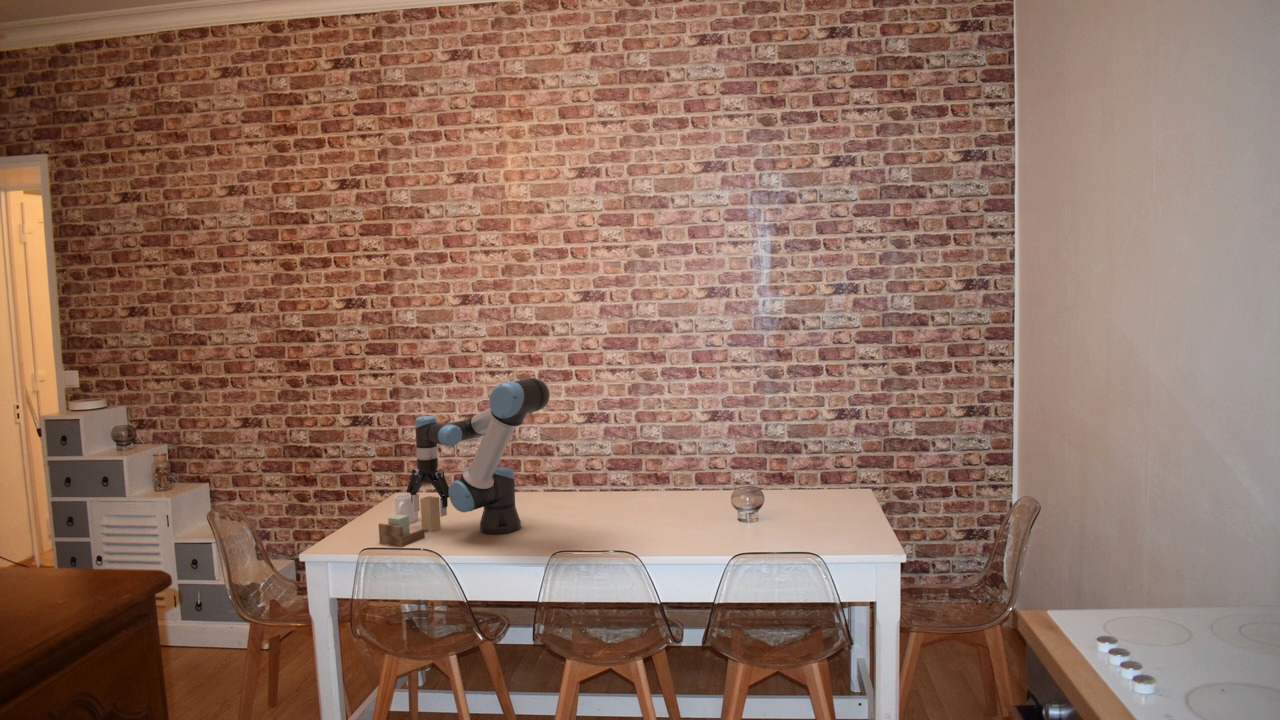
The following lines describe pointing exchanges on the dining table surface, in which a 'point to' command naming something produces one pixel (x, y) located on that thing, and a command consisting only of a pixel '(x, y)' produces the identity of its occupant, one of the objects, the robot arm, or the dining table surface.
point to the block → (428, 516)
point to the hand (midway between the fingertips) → (429, 513)
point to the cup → (405, 507)
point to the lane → (397, 535)
